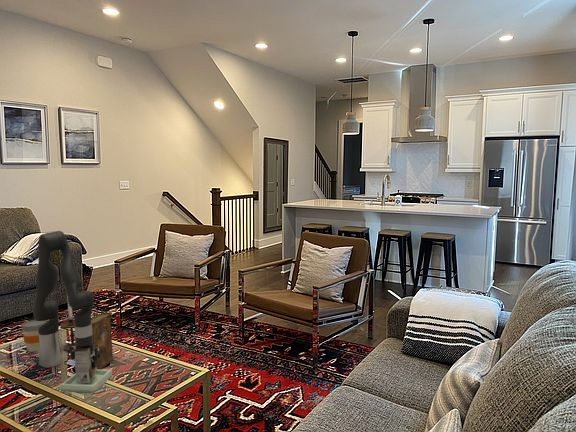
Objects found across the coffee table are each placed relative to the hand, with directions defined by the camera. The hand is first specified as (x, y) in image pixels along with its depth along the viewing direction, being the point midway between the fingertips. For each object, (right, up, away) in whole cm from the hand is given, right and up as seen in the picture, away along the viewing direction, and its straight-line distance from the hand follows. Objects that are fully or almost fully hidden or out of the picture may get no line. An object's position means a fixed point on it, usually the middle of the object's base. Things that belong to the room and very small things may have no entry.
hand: (86, 368), depth 202 cm
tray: (0, -7, +1) cm, 7 cm away
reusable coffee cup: (-48, -4, +43) cm, 64 cm away
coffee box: (0, -5, +1) cm, 5 cm away
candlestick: (-27, -4, +42) cm, 50 cm away
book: (-2, -6, +19) cm, 20 cm away
